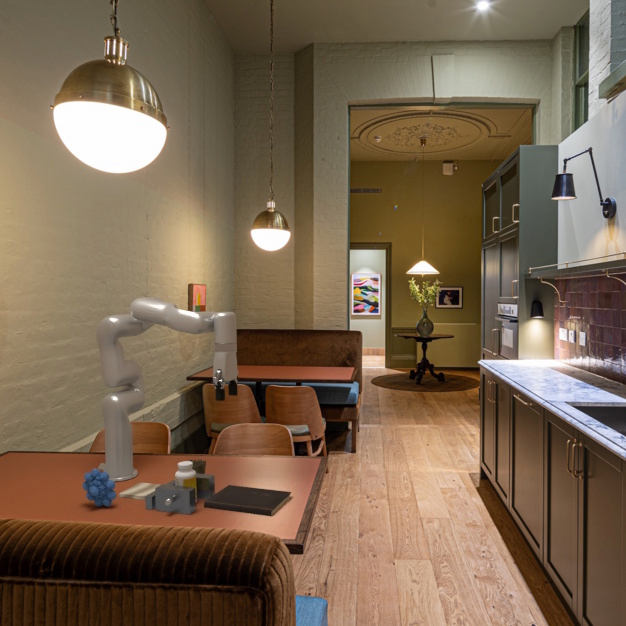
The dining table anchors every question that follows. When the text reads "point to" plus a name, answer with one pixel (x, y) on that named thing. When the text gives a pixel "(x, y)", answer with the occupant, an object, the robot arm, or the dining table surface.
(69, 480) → the dining table surface
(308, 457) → the dining table surface
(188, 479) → the supplement bottle
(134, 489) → the birch board
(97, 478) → the grapes
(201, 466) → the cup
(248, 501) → the hardcover book
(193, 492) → the vise
